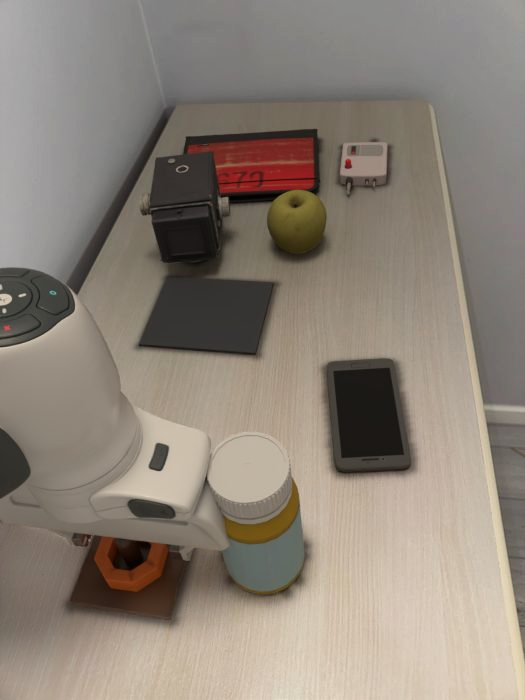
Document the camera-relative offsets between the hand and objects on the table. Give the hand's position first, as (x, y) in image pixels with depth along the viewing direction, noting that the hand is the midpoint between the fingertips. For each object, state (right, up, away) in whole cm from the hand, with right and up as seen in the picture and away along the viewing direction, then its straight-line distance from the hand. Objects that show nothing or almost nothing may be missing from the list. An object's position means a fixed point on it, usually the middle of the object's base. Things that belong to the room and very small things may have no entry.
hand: (132, 545), depth 59 cm
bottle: (+12, -2, +1) cm, 12 cm away
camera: (+2, +31, +33) cm, 45 cm away
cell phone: (+22, +10, +11) cm, 27 cm away
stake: (0, -2, +2) cm, 3 cm away
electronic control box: (+26, +44, +41) cm, 66 cm away
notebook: (+10, +44, +44) cm, 63 cm away
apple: (+16, +31, +31) cm, 46 cm away
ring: (0, -2, +1) cm, 2 cm away
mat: (+5, +21, +23) cm, 32 cm away
